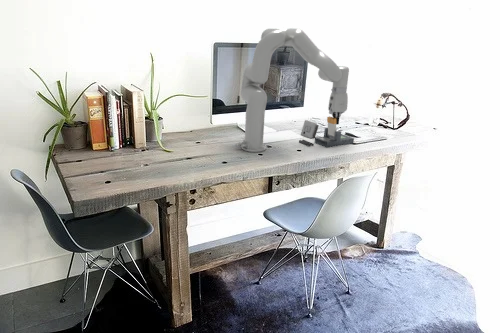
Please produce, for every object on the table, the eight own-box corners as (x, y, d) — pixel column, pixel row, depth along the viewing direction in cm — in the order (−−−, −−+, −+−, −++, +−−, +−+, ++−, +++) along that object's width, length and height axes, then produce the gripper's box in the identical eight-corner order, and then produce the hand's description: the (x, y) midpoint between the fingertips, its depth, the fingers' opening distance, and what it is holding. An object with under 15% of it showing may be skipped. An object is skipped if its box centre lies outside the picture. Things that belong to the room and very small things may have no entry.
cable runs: (309, 146, 206) (309, 144, 206) (298, 142, 214) (298, 139, 213) (314, 146, 208) (314, 143, 208) (303, 141, 216) (303, 139, 215)
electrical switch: (300, 135, 228) (302, 119, 226) (306, 135, 231) (309, 119, 229) (311, 139, 221) (313, 123, 219) (317, 139, 224) (320, 123, 222)
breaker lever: (334, 139, 210) (334, 119, 205) (327, 136, 215) (326, 117, 210) (337, 138, 211) (337, 118, 206) (329, 135, 216) (329, 116, 211)
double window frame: (326, 147, 206) (328, 133, 203) (314, 142, 214) (315, 129, 211) (353, 143, 216) (355, 129, 213) (340, 139, 224) (342, 125, 221)
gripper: (333, 92, 198) (330, 126, 204) (354, 90, 205) (350, 124, 212) (324, 90, 204) (320, 123, 210) (344, 88, 211) (340, 121, 218)
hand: (335, 123), depth 211 cm, fingers closed
